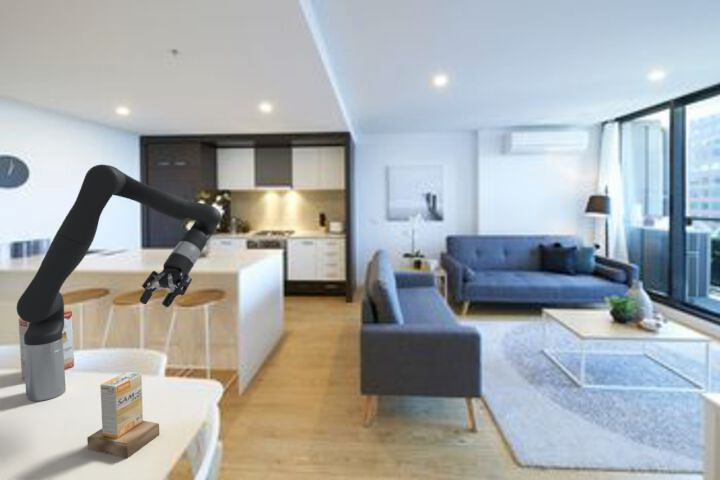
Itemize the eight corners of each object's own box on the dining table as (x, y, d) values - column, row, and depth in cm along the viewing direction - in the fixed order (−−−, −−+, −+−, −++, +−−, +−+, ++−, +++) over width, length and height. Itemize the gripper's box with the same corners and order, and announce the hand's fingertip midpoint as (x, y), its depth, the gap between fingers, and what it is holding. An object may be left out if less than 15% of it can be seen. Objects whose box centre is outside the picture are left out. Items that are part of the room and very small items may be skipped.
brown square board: (87, 449, 99) (87, 436, 99) (122, 427, 109) (121, 415, 108) (127, 458, 96) (127, 445, 96) (159, 434, 105) (159, 422, 105)
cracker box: (32, 382, 134) (28, 320, 132) (21, 379, 136) (16, 318, 134) (75, 366, 147) (72, 309, 145) (64, 363, 149) (61, 308, 147)
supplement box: (117, 439, 98) (115, 387, 96) (101, 436, 99) (99, 384, 98) (144, 421, 106) (142, 372, 104) (129, 418, 107) (127, 370, 106)
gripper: (157, 250, 126) (126, 294, 116) (194, 253, 121) (164, 299, 111) (171, 264, 131) (143, 308, 122) (207, 268, 126) (180, 313, 117)
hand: (153, 304), depth 117 cm, fingers open, 8 cm apart
